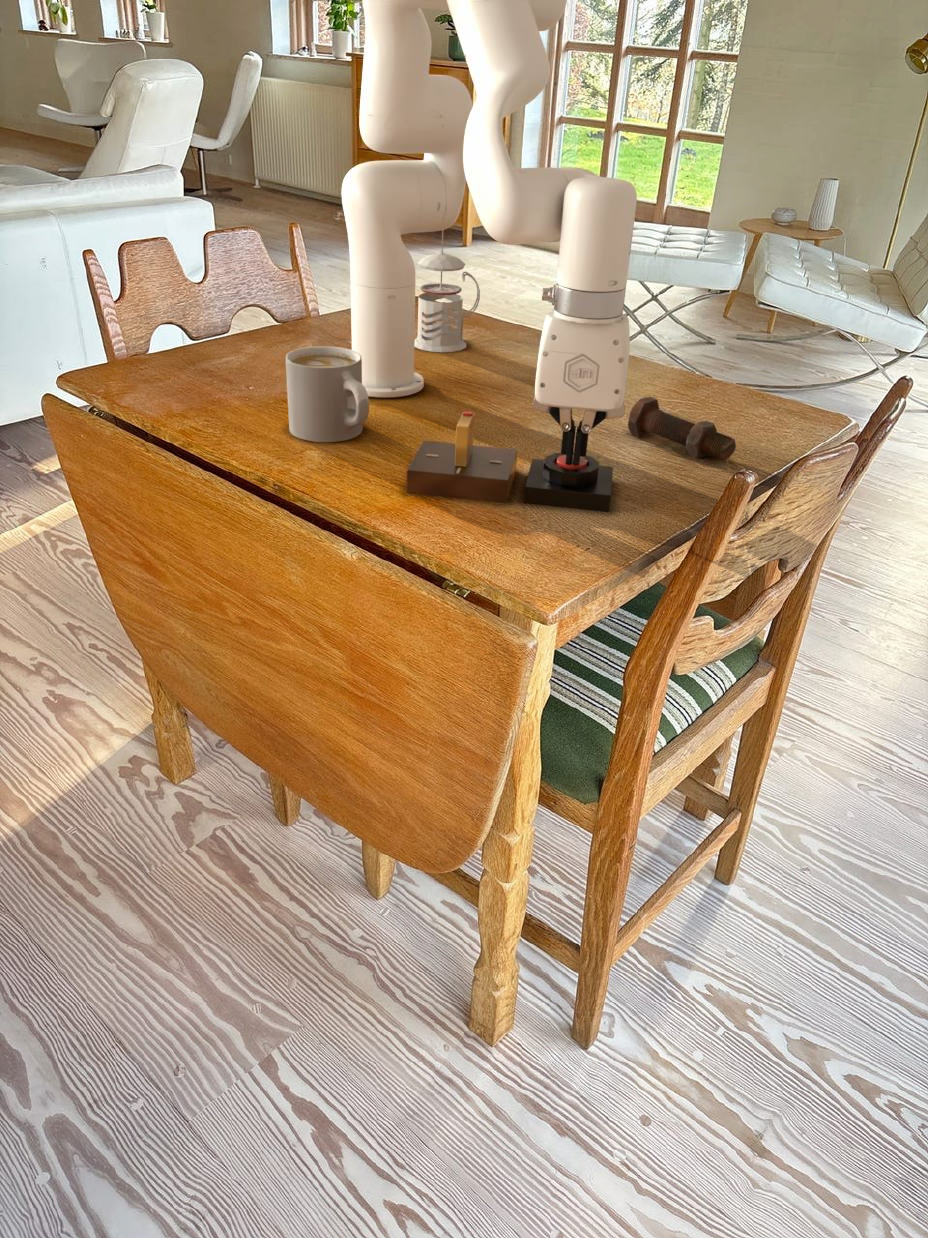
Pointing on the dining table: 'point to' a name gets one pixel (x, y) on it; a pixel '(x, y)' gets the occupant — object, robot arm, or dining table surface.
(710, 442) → the bolt
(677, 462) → the dining table surface
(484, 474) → the plate
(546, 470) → the button box
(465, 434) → the gold slab
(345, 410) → the coffee mug
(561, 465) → the red button
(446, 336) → the french press
